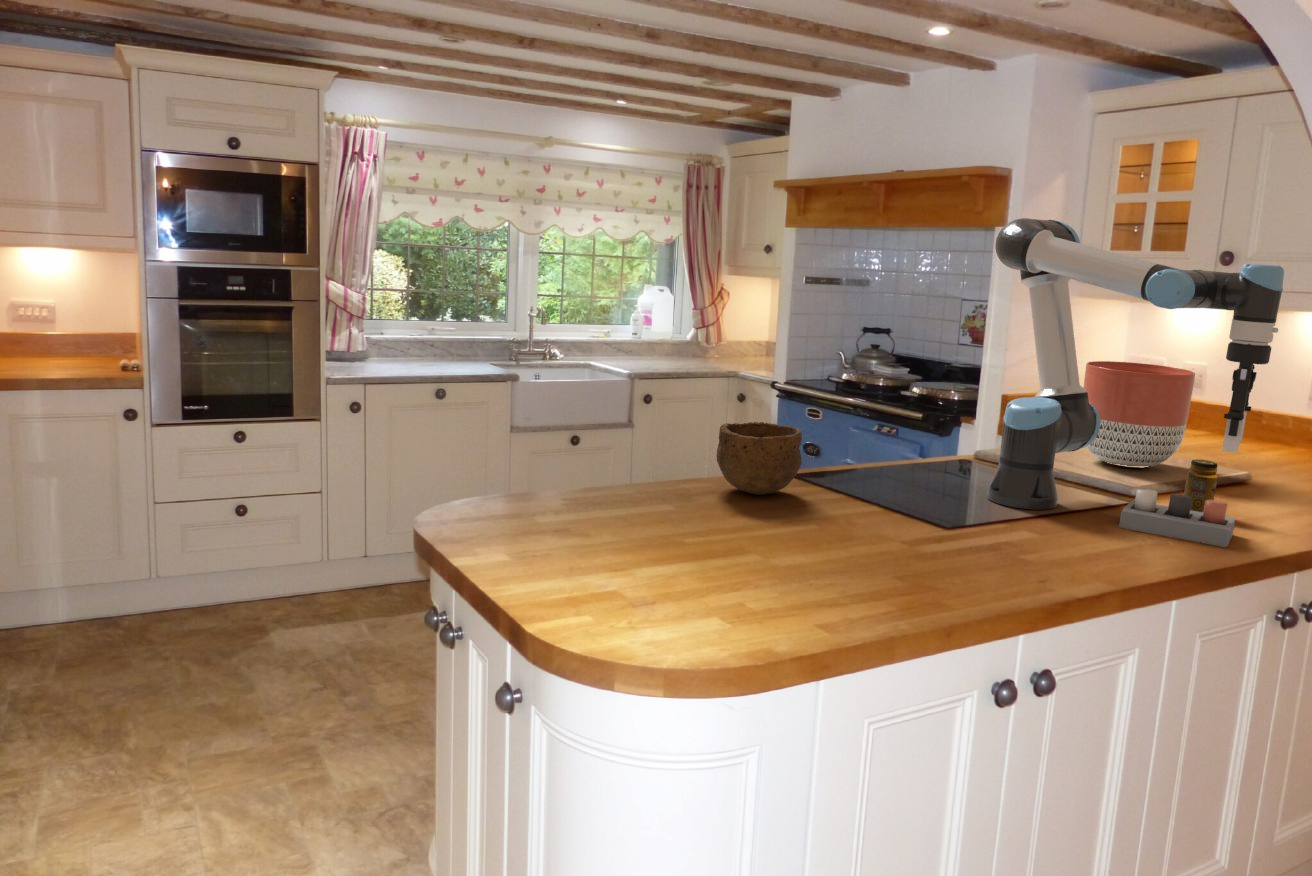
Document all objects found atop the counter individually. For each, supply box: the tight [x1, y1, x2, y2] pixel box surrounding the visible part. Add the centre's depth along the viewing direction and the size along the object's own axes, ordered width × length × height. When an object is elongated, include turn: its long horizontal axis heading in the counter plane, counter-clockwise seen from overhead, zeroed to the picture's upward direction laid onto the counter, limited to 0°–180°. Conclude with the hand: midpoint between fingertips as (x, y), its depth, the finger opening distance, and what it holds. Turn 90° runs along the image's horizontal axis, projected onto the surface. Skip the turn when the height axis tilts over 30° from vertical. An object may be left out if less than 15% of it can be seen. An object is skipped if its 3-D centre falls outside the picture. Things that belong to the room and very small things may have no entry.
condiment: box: [1183, 459, 1219, 512], centre depth 226 cm, size 7×8×12 cm
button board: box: [1118, 499, 1236, 548], centre depth 211 cm, size 20×12×4 cm, turn 56°
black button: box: [1168, 493, 1192, 518], centre depth 210 cm, size 4×4×4 cm
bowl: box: [716, 421, 803, 496], centre depth 224 cm, size 19×19×15 cm
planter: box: [1083, 360, 1196, 467], centre depth 273 cm, size 27×27×27 cm
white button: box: [1134, 487, 1158, 512], centre depth 214 cm, size 4×4×4 cm
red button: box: [1202, 499, 1228, 524], centre depth 207 cm, size 4×4×4 cm
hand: (1231, 446), depth 205 cm, fingers open, 13 cm apart
